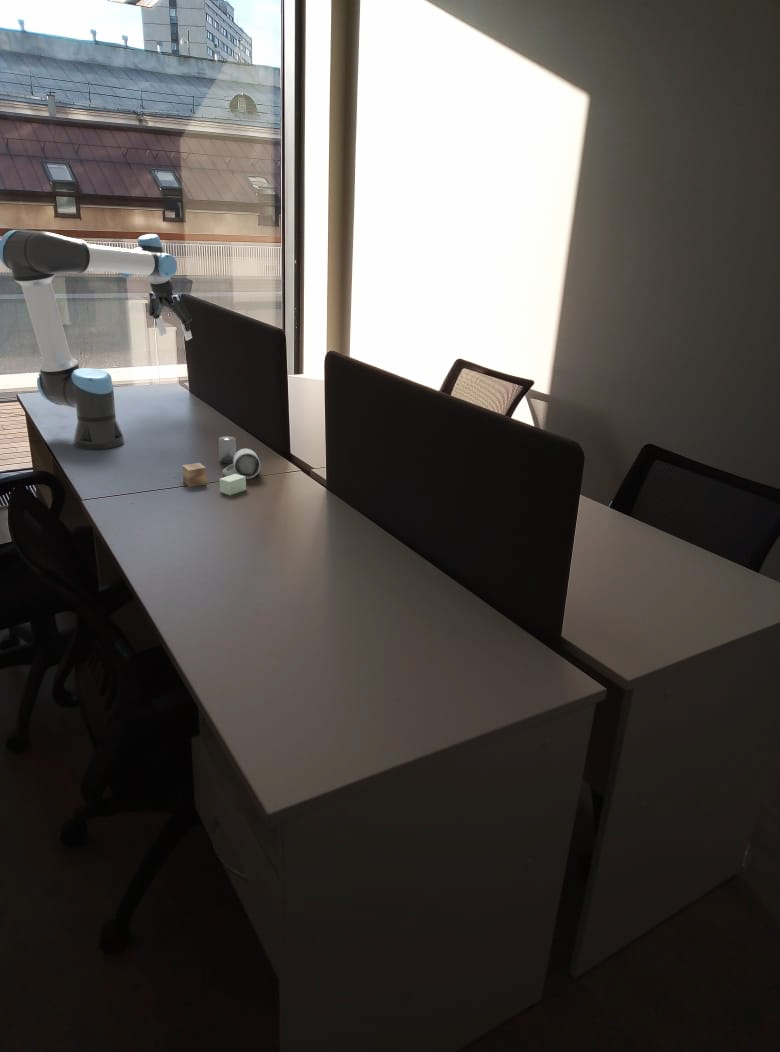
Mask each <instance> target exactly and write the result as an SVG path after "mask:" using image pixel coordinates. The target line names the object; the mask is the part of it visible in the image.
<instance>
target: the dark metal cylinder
mask: <svg viewBox="0 0 780 1052" xmlns="http://www.w3.org/2000/svg"><path fill="white" fill-rule="evenodd" d="M236 447H237V444H236V438H235V437H234V436H229V435H228V436H220V437H219V438H218V453H219V461H220V463H222V464H223V463H224V464H233V459H234V456H235V454H236V453H237V448H236Z"/></svg>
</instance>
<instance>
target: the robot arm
mask: <svg viewBox="0 0 780 1052" xmlns="http://www.w3.org/2000/svg"><path fill="white" fill-rule="evenodd" d="M0 261H1V263H2V264H3V266H5V267H6V268H7V269H8V270H10V272H11V273H12V278H13V281H14V282H16V283H18V284H19V285H20V287H21V290H22V293H23V296H24V297H23V298H24V299H25V303H26V307H27V310H28V313H29V318H30V321H31V325H32V329H33V331H34V336H35V338H36V343H37V346H38V349H39V353H40V356H41V359H42V363H41V364H40V365H39V373H38V377H37V378H36V380H37V381H36V386H37V389H38V392H39V393H40V395H41V396H42V398H44V399H45V400H46V401H48V402H50V403H53V404H55V405H58V406H66V407H70V408H73V409H76V410H75V411H76V419H77V423H76V427H75V432H74V436H73V443H74V446H75V447H76V448H77V449H83V450H107V449H113V448H116V447H120V446H121V444H122V445H123V444H124V443H125V439H124V438H125V437H124V433H123V430H122V428H121V427H120V425H119V423H118V420H117V416H116V408H115V407H116V406H115V405H116V404H115V395H114V383H113V380H112V376H111V375H110V373H108V372H107V371H106V370H103V369H100V368H92V367H82V368H80V366H79V365H80V364H79V363H78V362H79V361H78V360H77V359H75V358H74V357H72V355H71V352H70V351H71V350H70V347H69V344H68V340H67V336H66V332H65V329H64V326H63V321H62V317H61V314H60V310H59V305H58V301H57V298H56V294H55V291H54V287H53V283H52V281H53V279H54V278H55V276H56V274H66V273H67V274H68V273H70V274H71V273H72V274H73V273H75V274H83V273H86V272H87V271H93V272H105V273H116V274H118V275H119V276H120V277H122V278H124V279H125V278H129V277H133V276H135V275H138V276H140V275H141V276H147V279H148V282H150V283H149V286H150V289H151V291H149V293H148V297H149V306H148V307H149V308H148V315H149V317H152V318H153V319H154V321H155V324H156V327H157V329H158V332H159V336H160V337H162V336H164V335H166V334H167V330H166V325H165V322H164V319H163V316H162V311H163V309H164V307H166V308H169V309H170V310H171V311H172V312H173V313H174V314H175V315H176V316H177V318H178V319H179V320H180V321H181V324H180V325H181V329H182V332H183V335H184V339H185V341H186V342H187V341H189V340H191V339H193V335H192V332H191V326H190V325H191V324H190V322H191V321H192V320H193V317H192V315H191V313H190V312H189V310H188V309H187V307H186V305H185V304H184V302H183V300H182V298H181V295H180V294H179V293H178V294H175V295H174V293H173V290H174V285H173V282H172V279H171V278H172V277H174V276H175V275H176V273H177V271H178V262H177V259H176V258H175V256H173V254H170V253H166V252H165V251H164V247H163V245H162V242H161V239H160V237H159V235H158V234H155V233H147V234H143V235H141V236H139V237H138V238H137V246H136V247H134V248H125V247H124V248H123V247H117V246H116V247H114V246H107V245H101V244H100V245H99V244H91V243H87V242H86V241H85V240H83V239H80V238H73V237H69V236H64V235H61V234H58V233H53V232H50V231H49V232H48V231H39V230H29V229H24V228H23V229H13V230H9V231H7V232H6V233H4V235H2V237H1V239H0ZM119 445H120V446H119Z"/></svg>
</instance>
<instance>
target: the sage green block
mask: <svg viewBox="0 0 780 1052" xmlns="http://www.w3.org/2000/svg"><path fill="white" fill-rule="evenodd" d="M244 491H247V479H246V477H245V476H242V475H239V474H233V475H230V476H224V477H223V476H222V477H221V478H219V493H221V494H225V495H227V496H233V495H235V494H237V493H241V492H244Z"/></svg>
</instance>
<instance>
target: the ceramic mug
mask: <svg viewBox="0 0 780 1052" xmlns="http://www.w3.org/2000/svg"><path fill="white" fill-rule="evenodd" d="M260 471H261V460H260V459H259V457H258V455H257V453H256V452H255V451H253V450H252V449H250V448H241V449H239V450H238V451H236V454H235V456H234V459H233V463H230V464H229V465H228V466H226V467H225V468H224V469H222V474H223V475H224V477H226V476H230V475H233V474H239V475H242V476H245V477H246V480H248V479H253V478H254V477H256V476H257V475H258V474H259V472H260Z"/></svg>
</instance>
